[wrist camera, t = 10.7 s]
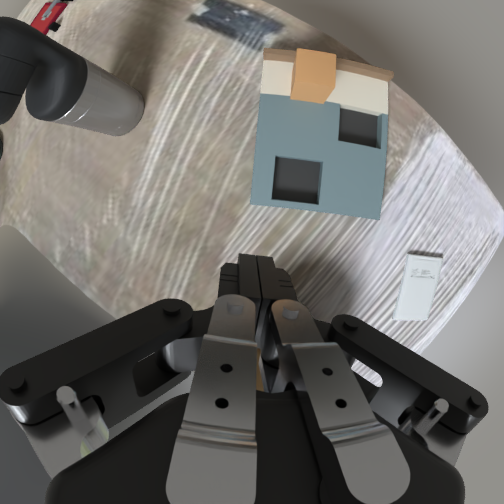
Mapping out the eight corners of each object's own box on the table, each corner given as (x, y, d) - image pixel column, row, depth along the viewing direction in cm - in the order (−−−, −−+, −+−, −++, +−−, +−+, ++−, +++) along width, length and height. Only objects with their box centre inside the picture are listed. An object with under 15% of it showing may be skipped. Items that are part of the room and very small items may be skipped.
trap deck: (251, 203, 43) (248, 205, 38) (264, 61, 37) (263, 47, 32) (373, 218, 42) (385, 222, 38) (382, 81, 37) (393, 71, 32)
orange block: (290, 99, 37) (294, 80, 29) (292, 70, 35) (297, 48, 28) (323, 103, 36) (335, 87, 29) (324, 75, 35) (336, 54, 27)
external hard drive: (390, 316, 47) (405, 252, 44) (424, 316, 47) (439, 256, 44) (393, 320, 45) (409, 254, 42) (428, 320, 45) (444, 258, 42)
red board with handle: (95, -17, 32) (65, -17, 31) (89, -22, 29) (60, -21, 28) (26, 85, 39) (5, 74, 38) (18, 83, 36) (-1, 72, 35)
